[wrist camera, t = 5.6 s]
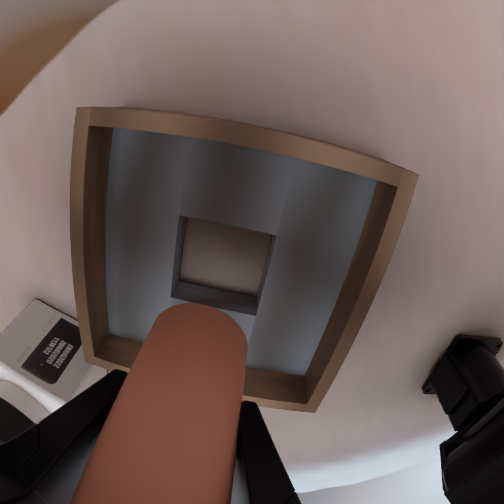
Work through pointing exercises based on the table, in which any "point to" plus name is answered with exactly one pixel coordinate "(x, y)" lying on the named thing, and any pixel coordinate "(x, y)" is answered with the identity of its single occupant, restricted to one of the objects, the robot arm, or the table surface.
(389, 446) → the table surface
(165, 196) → the box
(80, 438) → the robot arm
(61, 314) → the container
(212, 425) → the peg
